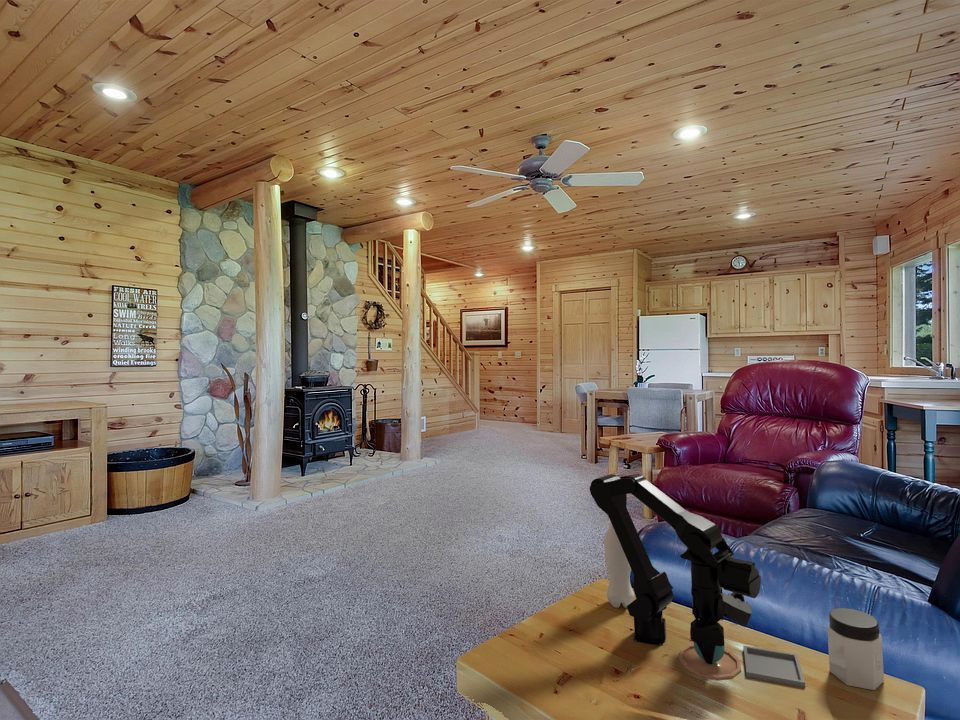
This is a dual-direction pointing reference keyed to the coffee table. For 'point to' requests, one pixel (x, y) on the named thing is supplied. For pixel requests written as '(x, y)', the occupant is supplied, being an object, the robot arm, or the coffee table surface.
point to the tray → (773, 666)
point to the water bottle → (617, 571)
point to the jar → (855, 648)
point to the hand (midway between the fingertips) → (709, 655)
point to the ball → (717, 654)
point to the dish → (716, 670)
